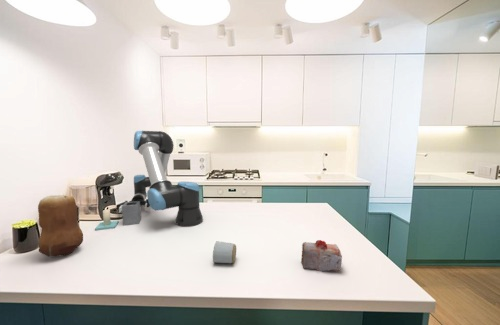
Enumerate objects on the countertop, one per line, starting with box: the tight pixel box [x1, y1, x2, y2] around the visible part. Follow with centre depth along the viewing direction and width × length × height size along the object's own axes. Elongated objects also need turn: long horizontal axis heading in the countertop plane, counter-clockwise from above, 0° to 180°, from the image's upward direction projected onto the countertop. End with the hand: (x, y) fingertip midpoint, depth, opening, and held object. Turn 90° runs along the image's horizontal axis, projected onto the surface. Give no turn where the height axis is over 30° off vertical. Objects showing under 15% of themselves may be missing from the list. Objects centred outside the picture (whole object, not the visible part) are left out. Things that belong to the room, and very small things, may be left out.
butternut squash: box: [37, 194, 84, 258], centre depth 88 cm, size 14×13×25 cm
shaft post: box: [94, 208, 120, 231], centre depth 118 cm, size 9×9×9 cm
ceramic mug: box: [212, 241, 237, 264], centre depth 85 cm, size 11×8×8 cm
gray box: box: [121, 201, 142, 226], centre depth 124 cm, size 8×8×11 cm
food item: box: [300, 239, 343, 273], centre depth 80 cm, size 14×8×10 cm, turn 83°
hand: (132, 209), depth 128 cm, fingers open, 13 cm apart
